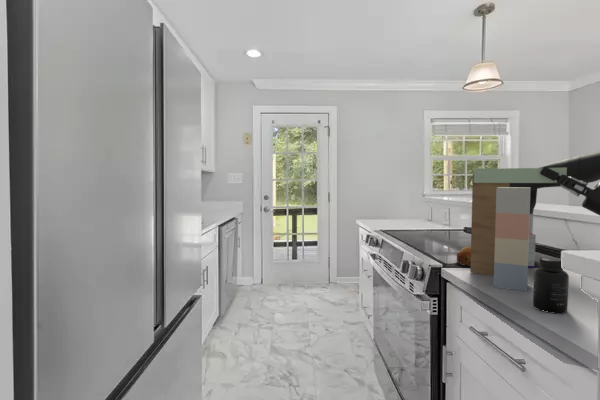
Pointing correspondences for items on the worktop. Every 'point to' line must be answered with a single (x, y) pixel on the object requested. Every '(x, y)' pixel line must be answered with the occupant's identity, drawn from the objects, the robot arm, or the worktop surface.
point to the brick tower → (512, 237)
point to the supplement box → (531, 250)
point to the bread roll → (464, 256)
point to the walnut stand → (483, 227)
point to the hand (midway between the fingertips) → (542, 170)
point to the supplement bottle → (551, 286)
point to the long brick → (514, 175)
